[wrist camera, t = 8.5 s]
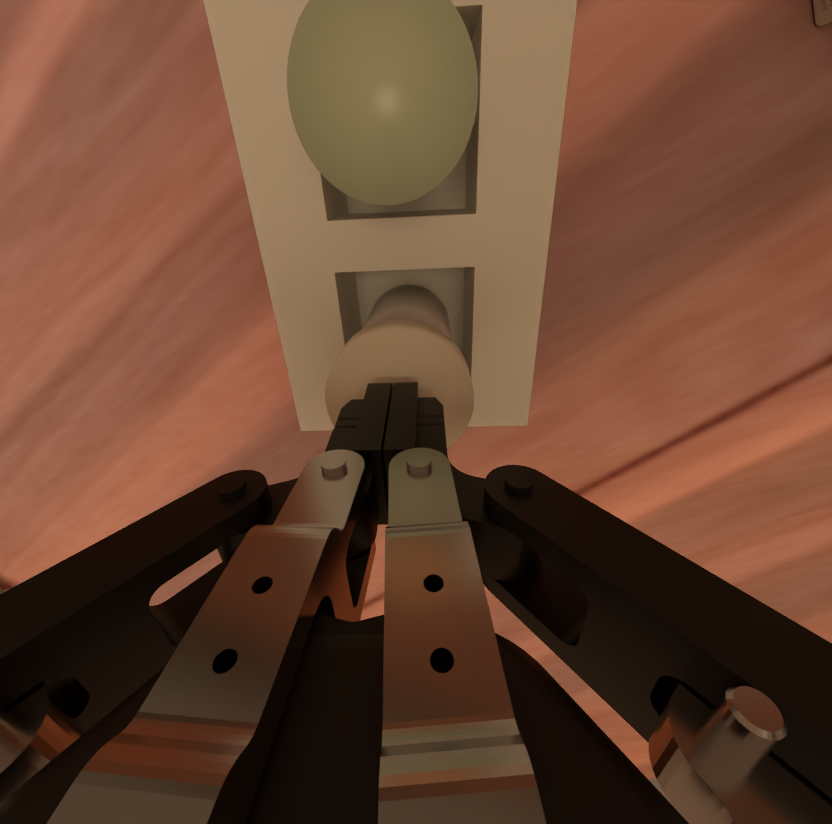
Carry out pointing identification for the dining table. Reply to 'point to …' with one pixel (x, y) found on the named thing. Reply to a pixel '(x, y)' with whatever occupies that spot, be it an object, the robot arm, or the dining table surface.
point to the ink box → (822, 11)
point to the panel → (408, 204)
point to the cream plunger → (405, 357)
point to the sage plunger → (382, 94)
